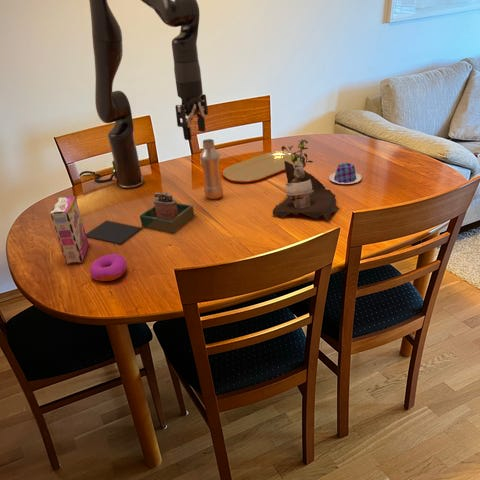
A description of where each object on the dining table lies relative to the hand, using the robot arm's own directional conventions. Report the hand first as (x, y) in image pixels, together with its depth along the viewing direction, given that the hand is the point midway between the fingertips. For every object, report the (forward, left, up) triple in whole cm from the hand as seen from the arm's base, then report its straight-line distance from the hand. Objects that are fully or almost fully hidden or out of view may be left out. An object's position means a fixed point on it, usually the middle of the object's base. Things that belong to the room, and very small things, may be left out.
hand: (195, 135), depth 144 cm
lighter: (-6, -13, -25) cm, 29 cm away
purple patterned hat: (+38, +39, -25) cm, 60 cm away
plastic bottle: (-1, +9, -25) cm, 27 cm away
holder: (-6, -13, -25) cm, 29 cm away
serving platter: (+4, +39, -25) cm, 47 cm away
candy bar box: (-20, -41, -25) cm, 52 cm away
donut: (-3, -46, -25) cm, 52 cm away
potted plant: (+33, +13, -25) cm, 43 cm away
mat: (-19, -26, -25) cm, 41 cm away
